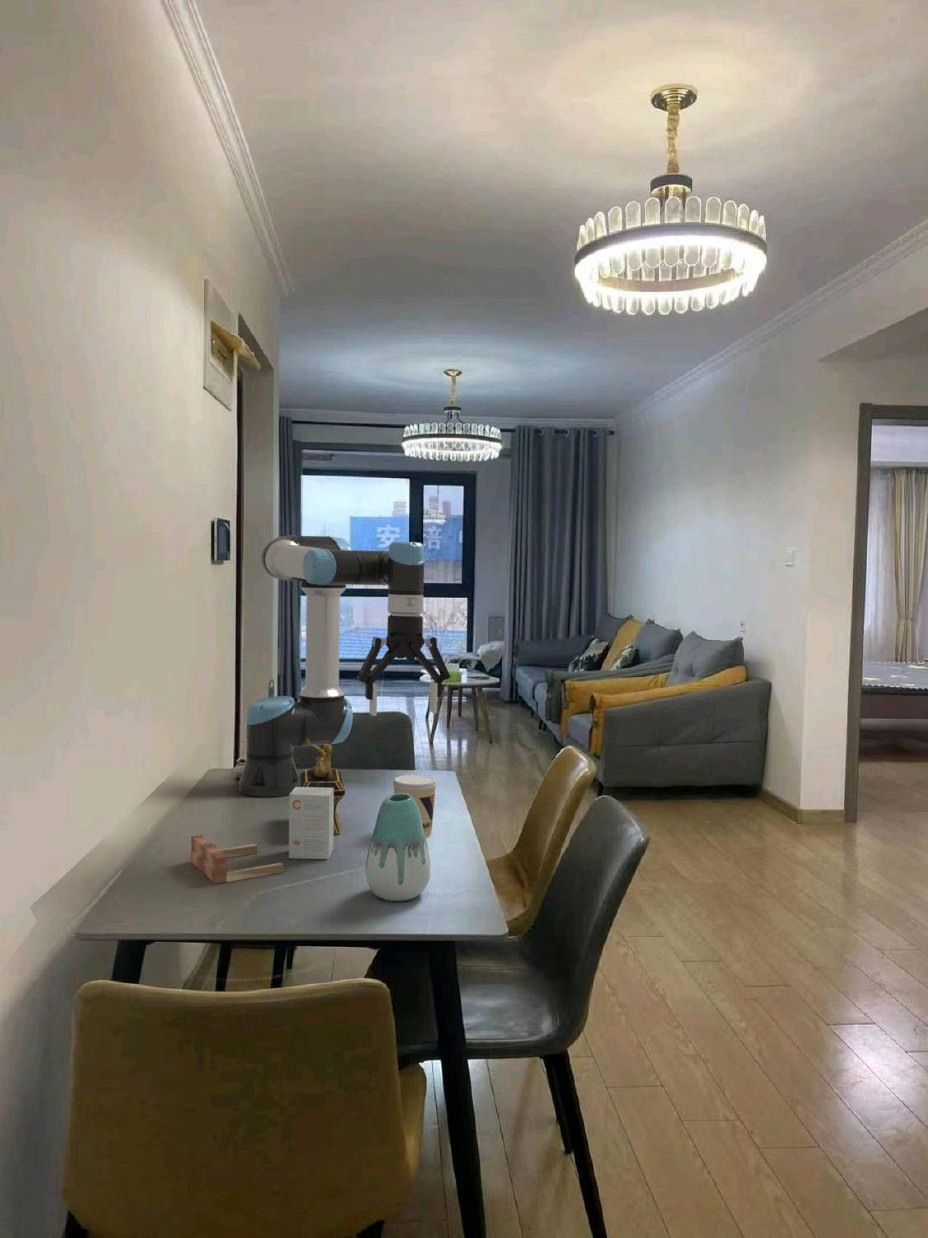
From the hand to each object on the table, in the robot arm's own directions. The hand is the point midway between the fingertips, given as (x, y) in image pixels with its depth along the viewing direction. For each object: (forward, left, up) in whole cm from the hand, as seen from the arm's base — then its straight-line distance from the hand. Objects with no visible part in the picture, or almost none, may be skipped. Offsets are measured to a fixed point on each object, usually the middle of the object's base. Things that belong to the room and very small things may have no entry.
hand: (403, 713), depth 199 cm
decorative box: (-13, -13, -27) cm, 32 cm away
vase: (+30, -18, -27) cm, 44 cm away
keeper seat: (+2, -37, -27) cm, 46 cm away
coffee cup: (0, +3, -27) cm, 27 cm away
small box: (+2, -22, -27) cm, 35 cm away
